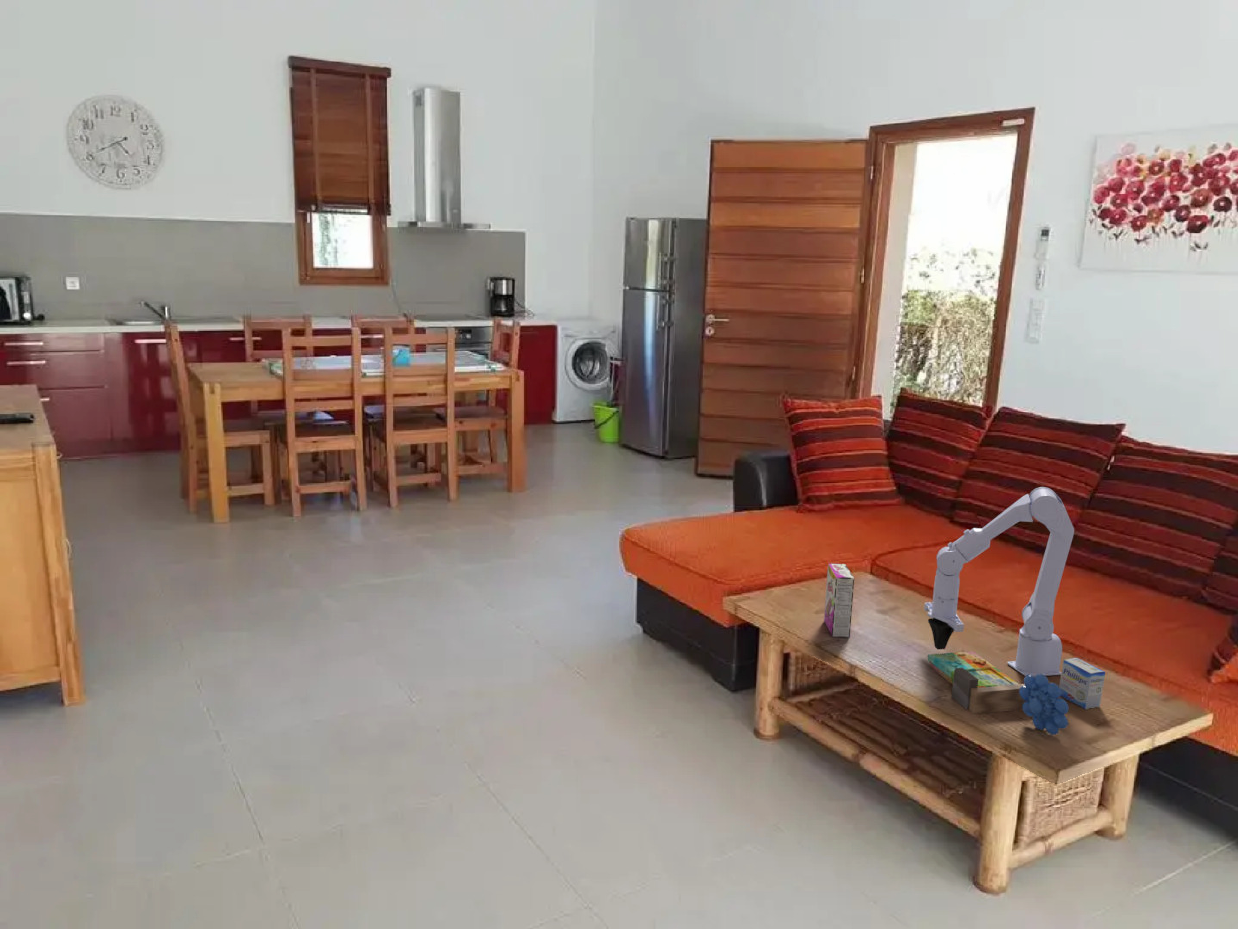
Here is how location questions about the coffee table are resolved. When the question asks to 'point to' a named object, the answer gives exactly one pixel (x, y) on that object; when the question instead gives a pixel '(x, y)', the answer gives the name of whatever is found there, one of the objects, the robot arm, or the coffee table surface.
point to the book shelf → (984, 694)
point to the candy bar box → (839, 600)
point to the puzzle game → (969, 668)
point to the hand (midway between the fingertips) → (939, 648)
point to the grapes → (1044, 703)
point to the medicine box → (1081, 683)
